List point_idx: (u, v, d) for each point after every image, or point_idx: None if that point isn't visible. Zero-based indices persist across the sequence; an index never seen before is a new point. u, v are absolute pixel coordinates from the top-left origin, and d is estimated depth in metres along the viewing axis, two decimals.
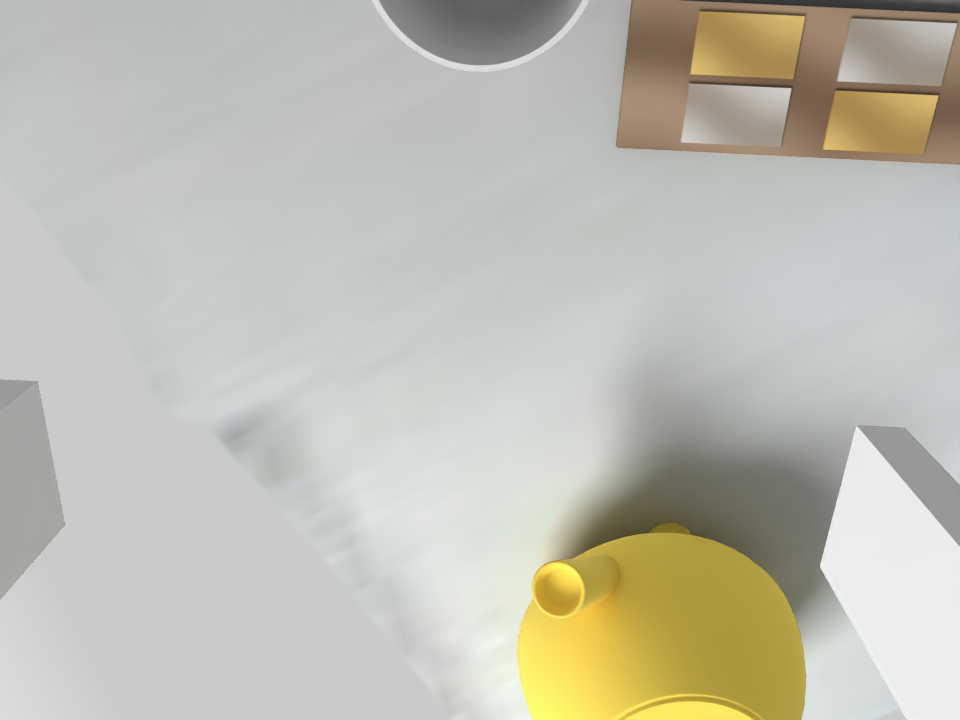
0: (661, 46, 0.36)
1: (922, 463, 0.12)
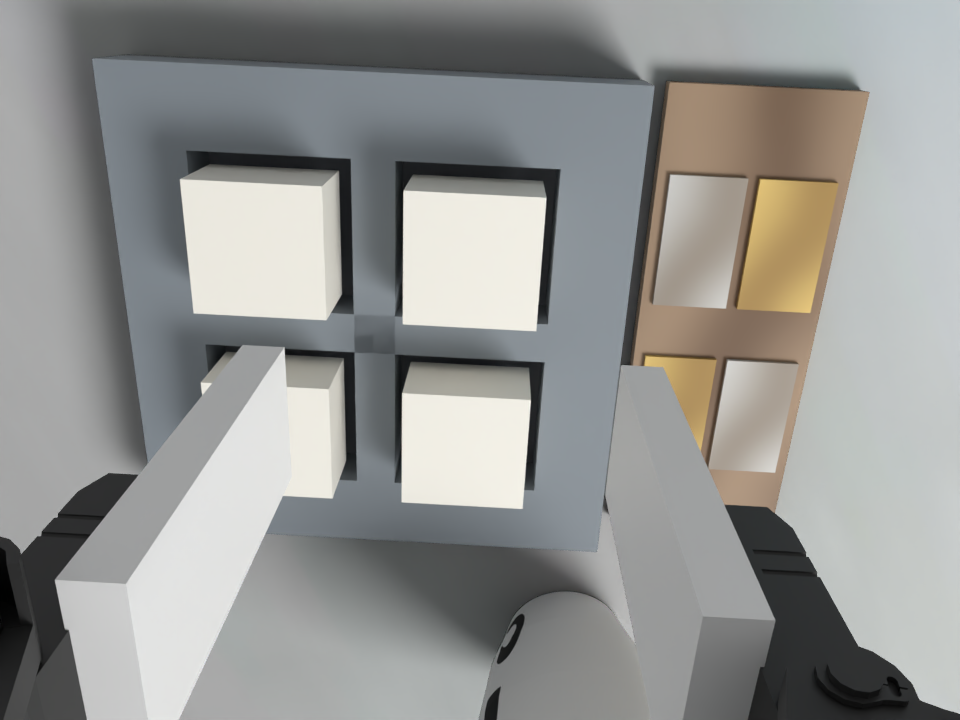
0: None
1: (660, 393, 0.13)
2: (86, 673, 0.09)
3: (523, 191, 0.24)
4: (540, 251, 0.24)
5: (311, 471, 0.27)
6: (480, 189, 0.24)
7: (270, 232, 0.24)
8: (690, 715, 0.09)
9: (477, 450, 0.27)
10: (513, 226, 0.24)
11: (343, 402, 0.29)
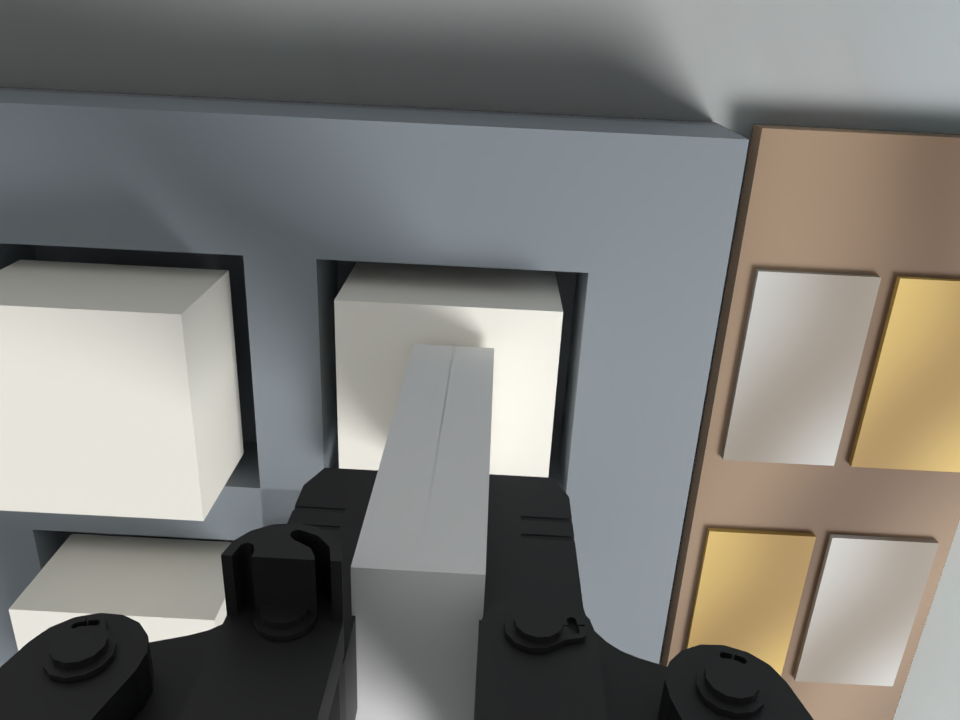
0: None
1: (479, 372, 0.14)
2: (366, 657, 0.09)
3: (526, 297, 0.15)
4: (552, 391, 0.15)
5: None
6: (458, 293, 0.15)
7: (99, 386, 0.14)
8: (422, 668, 0.09)
9: None
10: (509, 354, 0.15)
11: None
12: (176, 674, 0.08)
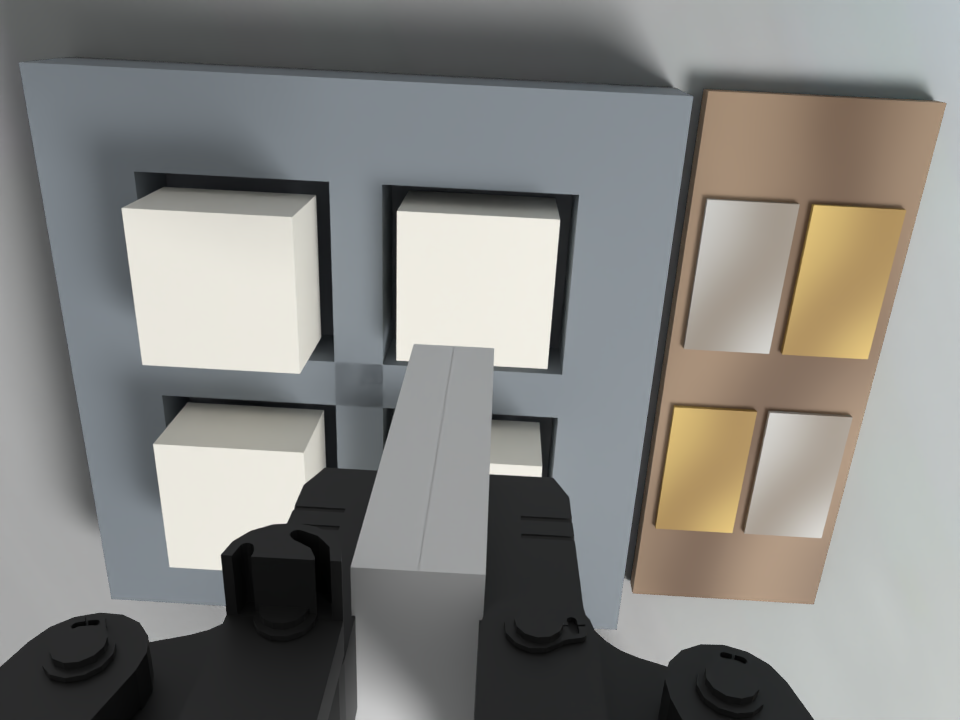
0: (692, 562, 0.28)
1: (479, 372, 0.14)
2: (366, 657, 0.09)
3: (533, 211, 0.21)
4: (552, 279, 0.21)
5: None
6: (484, 209, 0.21)
7: (230, 270, 0.20)
8: (422, 667, 0.09)
9: None
10: (522, 251, 0.21)
11: (323, 460, 0.25)
12: (176, 674, 0.08)
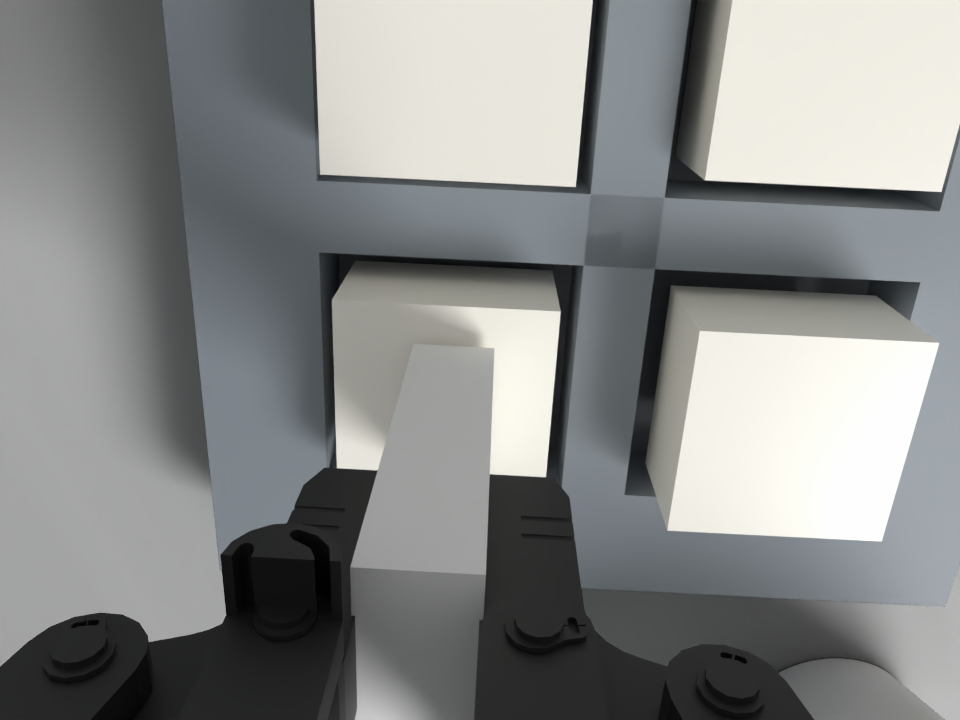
0: None
1: (479, 372, 0.14)
2: (366, 657, 0.09)
3: None
4: None
5: (512, 458, 0.16)
6: None
7: None
8: (423, 668, 0.09)
9: (820, 437, 0.15)
10: None
11: None
12: (176, 674, 0.08)
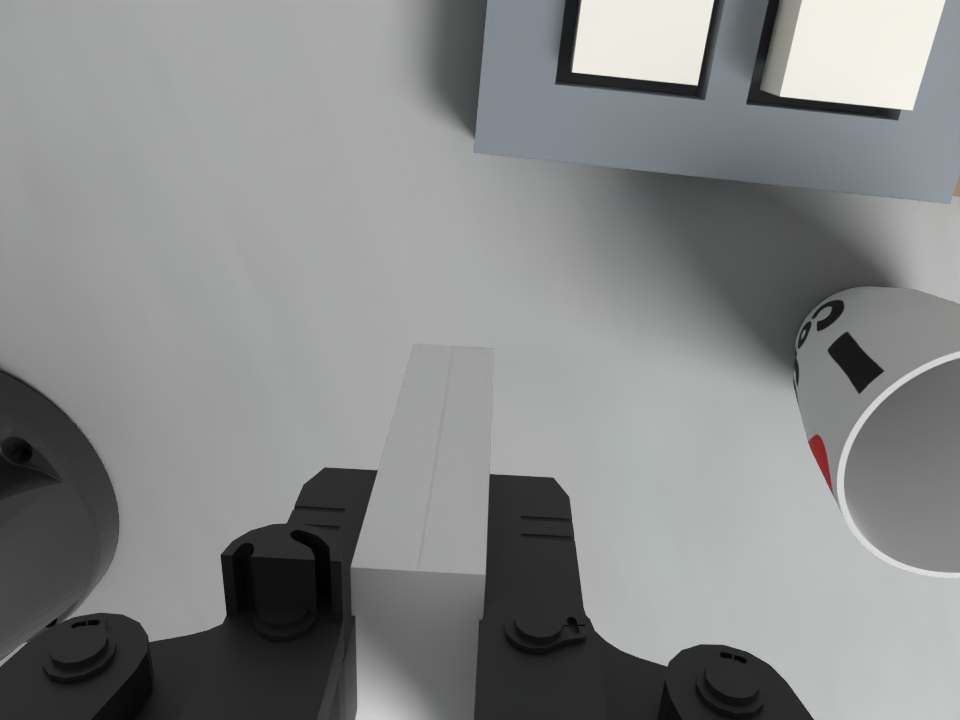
0: None
1: (479, 372, 0.14)
2: (366, 657, 0.09)
3: None
4: None
5: (682, 49, 0.26)
6: None
7: None
8: (423, 668, 0.09)
9: (880, 29, 0.25)
10: None
11: None
12: (176, 674, 0.08)
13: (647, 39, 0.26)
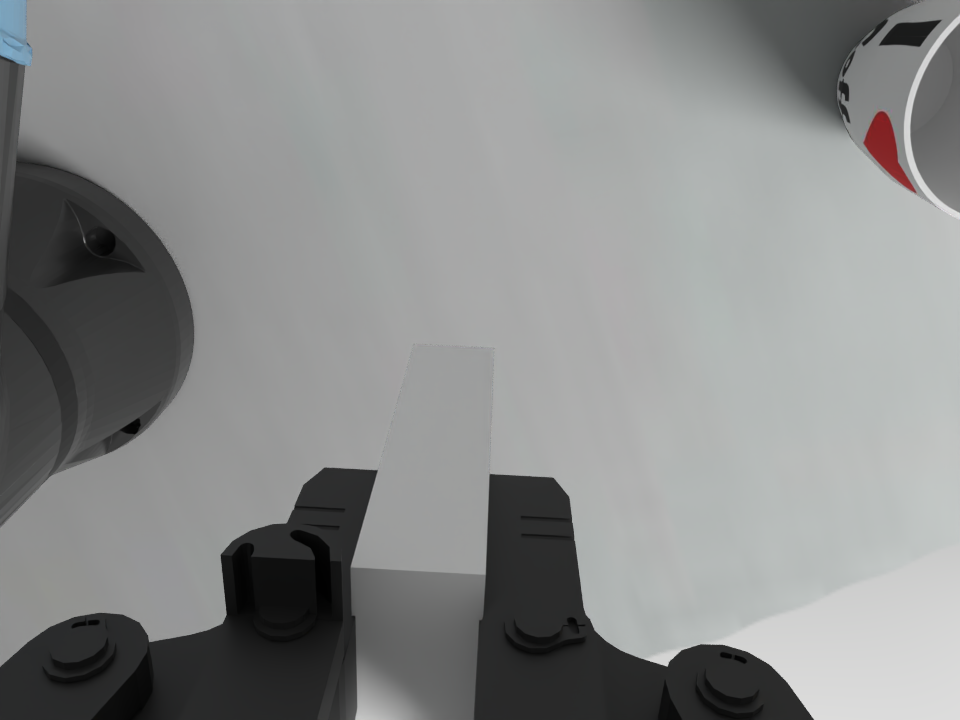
0: None
1: (479, 372, 0.14)
2: (366, 657, 0.09)
3: None
4: None
5: None
6: None
7: None
8: (422, 667, 0.09)
9: None
10: None
11: None
12: (176, 674, 0.08)
13: None
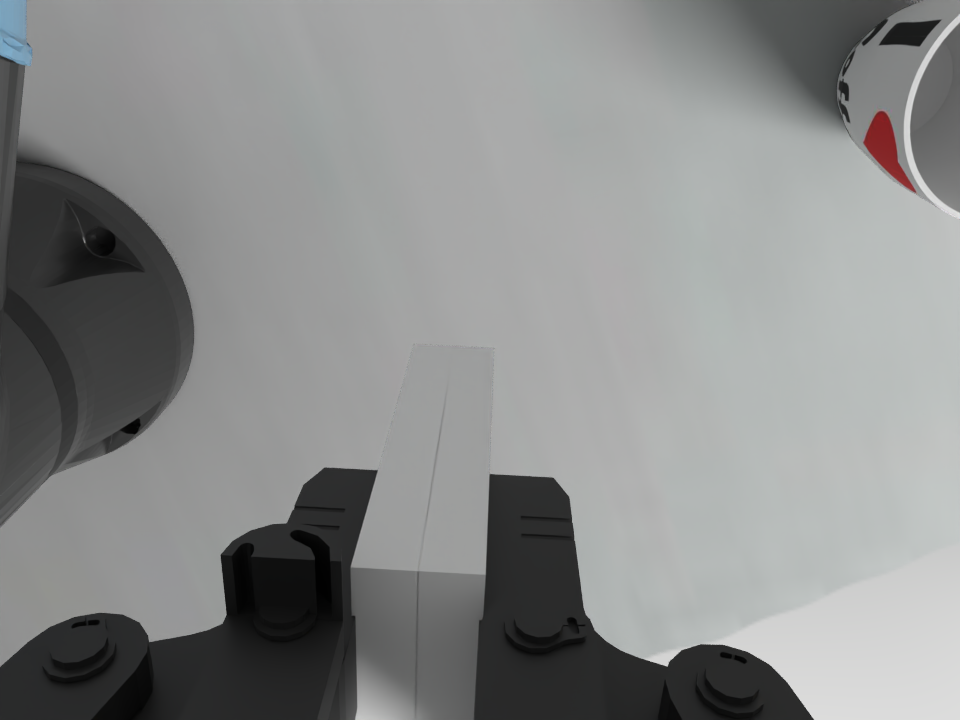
0: None
1: (479, 372, 0.14)
2: (366, 657, 0.09)
3: None
4: None
5: None
6: None
7: None
8: (422, 668, 0.09)
9: None
10: None
11: None
12: (176, 674, 0.08)
13: None
